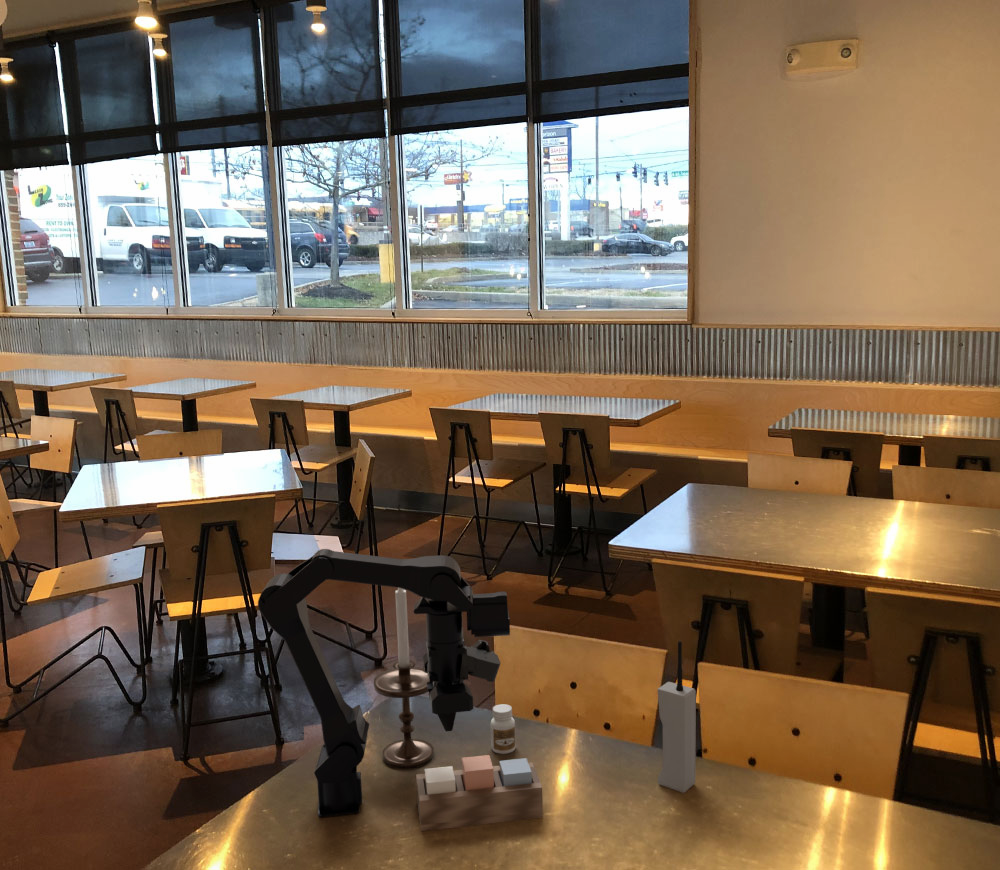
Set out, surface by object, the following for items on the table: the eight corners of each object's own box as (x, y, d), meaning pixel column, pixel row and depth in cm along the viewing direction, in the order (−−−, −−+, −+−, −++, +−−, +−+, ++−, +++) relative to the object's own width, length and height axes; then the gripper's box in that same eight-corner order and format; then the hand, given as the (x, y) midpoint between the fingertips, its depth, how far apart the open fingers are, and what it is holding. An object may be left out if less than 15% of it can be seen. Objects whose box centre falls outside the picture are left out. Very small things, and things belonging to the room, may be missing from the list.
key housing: (421, 831, 143) (419, 800, 143) (417, 803, 151) (416, 774, 150) (542, 817, 146) (542, 787, 145) (533, 790, 154) (532, 762, 153)
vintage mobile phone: (668, 775, 158) (668, 633, 154) (695, 784, 154) (696, 639, 151) (657, 784, 155) (657, 640, 151) (684, 794, 152) (684, 647, 148)
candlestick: (449, 759, 165) (442, 567, 159) (393, 777, 159) (383, 579, 154) (421, 735, 174) (413, 553, 169) (367, 751, 169) (357, 563, 163)
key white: (427, 807, 145) (426, 783, 144) (425, 792, 149) (424, 768, 149) (456, 804, 146) (455, 780, 145) (453, 789, 150) (452, 766, 149)
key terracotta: (466, 795, 146) (465, 771, 145) (462, 781, 150) (461, 757, 149) (494, 792, 146) (493, 768, 146) (490, 778, 151) (489, 754, 150)
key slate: (504, 798, 147) (503, 774, 146) (500, 784, 151) (499, 760, 150) (532, 795, 147) (531, 771, 147) (526, 781, 152) (526, 758, 151)
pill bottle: (494, 756, 166) (493, 715, 164) (488, 744, 170) (487, 704, 169) (518, 752, 167) (517, 711, 166) (511, 741, 171) (510, 701, 170)
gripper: (505, 655, 140) (507, 753, 142) (487, 613, 158) (490, 700, 160) (430, 661, 138) (434, 760, 141) (421, 618, 156) (424, 706, 159)
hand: (448, 730), depth 150 cm, fingers closed
